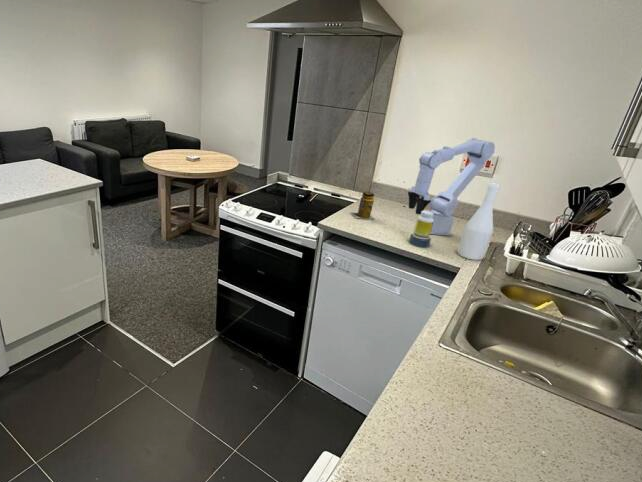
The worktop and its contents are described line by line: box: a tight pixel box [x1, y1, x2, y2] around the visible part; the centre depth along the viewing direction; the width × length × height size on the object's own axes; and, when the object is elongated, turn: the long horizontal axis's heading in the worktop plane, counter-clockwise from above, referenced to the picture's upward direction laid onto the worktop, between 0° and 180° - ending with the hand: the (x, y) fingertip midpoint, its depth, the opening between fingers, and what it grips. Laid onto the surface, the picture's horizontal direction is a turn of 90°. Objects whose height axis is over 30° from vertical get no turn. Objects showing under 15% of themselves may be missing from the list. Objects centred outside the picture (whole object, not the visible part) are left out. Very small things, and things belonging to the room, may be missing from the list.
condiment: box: [351, 191, 375, 220], centre depth 190 cm, size 7×8×12 cm
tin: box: [408, 233, 431, 248], centre depth 165 cm, size 8×8×3 cm
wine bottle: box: [457, 182, 501, 261], centre depth 152 cm, size 10×10×30 cm
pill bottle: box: [412, 210, 434, 239], centre depth 162 cm, size 6×6×11 cm
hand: (414, 211), depth 172 cm, fingers open, 7 cm apart
